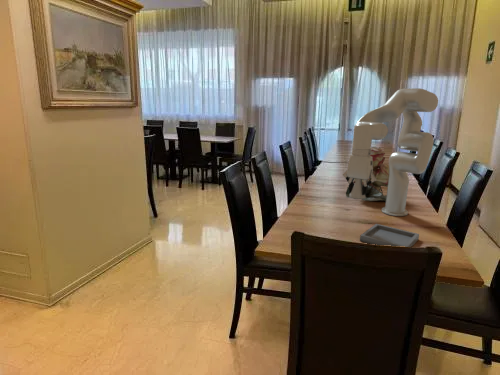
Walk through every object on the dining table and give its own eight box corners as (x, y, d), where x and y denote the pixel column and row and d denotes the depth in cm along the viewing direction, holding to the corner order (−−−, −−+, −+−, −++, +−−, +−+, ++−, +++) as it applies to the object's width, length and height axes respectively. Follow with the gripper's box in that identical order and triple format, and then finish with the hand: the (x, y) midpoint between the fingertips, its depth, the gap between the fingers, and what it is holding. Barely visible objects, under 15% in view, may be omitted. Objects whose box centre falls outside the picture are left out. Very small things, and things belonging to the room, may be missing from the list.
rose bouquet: (343, 199, 197) (347, 148, 189) (352, 188, 222) (357, 142, 214) (389, 205, 185) (396, 152, 178) (394, 193, 211) (400, 145, 203)
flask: (362, 194, 153) (364, 173, 150) (368, 199, 146) (370, 177, 143) (346, 194, 153) (348, 173, 150) (351, 199, 146) (353, 177, 143)
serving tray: (375, 228, 152) (376, 223, 151) (418, 239, 141) (419, 233, 140) (359, 240, 139) (360, 235, 138) (405, 253, 128) (406, 247, 127)
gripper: (384, 153, 142) (380, 194, 146) (346, 149, 152) (343, 188, 157) (377, 156, 136) (373, 198, 141) (338, 151, 147) (336, 191, 152)
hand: (357, 192), depth 149 cm, fingers closed on flask, 5 cm apart
